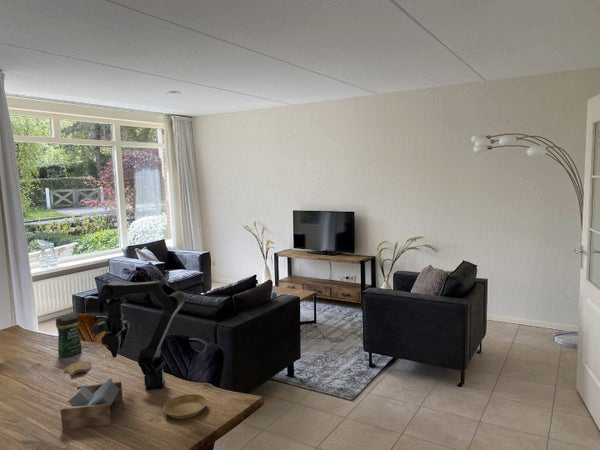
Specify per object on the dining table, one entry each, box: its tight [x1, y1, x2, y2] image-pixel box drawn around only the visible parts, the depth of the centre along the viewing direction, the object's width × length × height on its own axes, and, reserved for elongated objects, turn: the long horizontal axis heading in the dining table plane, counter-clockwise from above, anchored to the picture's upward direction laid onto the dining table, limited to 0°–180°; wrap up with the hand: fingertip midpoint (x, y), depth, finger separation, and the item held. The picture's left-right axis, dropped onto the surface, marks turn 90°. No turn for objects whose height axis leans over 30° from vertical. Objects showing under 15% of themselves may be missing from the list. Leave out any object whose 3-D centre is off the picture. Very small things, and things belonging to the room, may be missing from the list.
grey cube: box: [67, 386, 94, 407], centre depth 160 cm, size 5×5×5 cm
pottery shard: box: [63, 361, 92, 377], centre depth 198 cm, size 11×4×10 cm
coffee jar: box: [55, 313, 83, 358], centre depth 217 cm, size 10×8×19 cm
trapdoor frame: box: [60, 381, 124, 431], centre depth 161 cm, size 15×17×7 cm
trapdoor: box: [87, 378, 120, 407], centre depth 161 cm, size 12×14×5 cm
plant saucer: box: [162, 393, 208, 420], centre depth 161 cm, size 15×15×3 cm
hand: (117, 352), depth 182 cm, fingers open, 9 cm apart
